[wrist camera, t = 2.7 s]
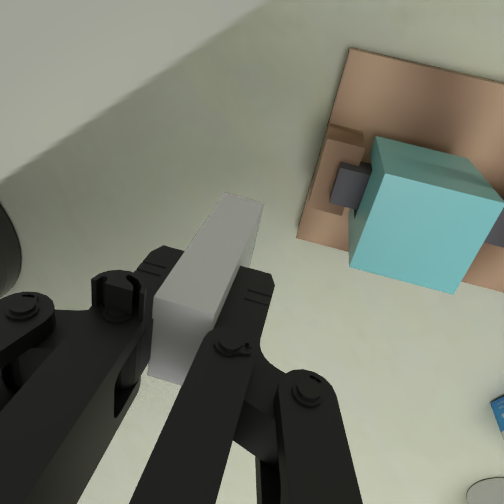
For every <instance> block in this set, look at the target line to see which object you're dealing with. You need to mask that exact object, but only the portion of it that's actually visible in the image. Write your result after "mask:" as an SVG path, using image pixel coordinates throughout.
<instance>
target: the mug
mask: <svg viewBox="0 0 504 504" xmlns="http://www.w3.org/2000/svg"><path fill="white" fill-rule="evenodd" d="M467 502H468V504H504V478H492V479H487V480H483V481H480V482H478V483H476V484H474V485H473V486H472V487H471V488H470V489H469V491H468V493H467Z"/></svg>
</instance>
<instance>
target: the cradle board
mask: <svg viewBox="0 0 504 504" xmlns="http://www.w3.org/2000/svg"><path fill="white" fill-rule="evenodd" d="M375 136H378V137H382V138H387V139H391V140H395V141H399V142H403V143H407V144H411V145H415V146H419V147H423V148H427V149H431V150H436V151H440V152H444V153H448V154H452V155H456V156H460V157H464V158H468V159H469V160H470V161H471V162H472V164H473V165H474V166H475V167H476V168H477V170H478V171H479V172H480V173H481V174H482V176H483V177H484V178H485V179H486V180H487V182H488V183H489V184H490V185H491V186H492V188H493V189H494V190H495V191H496V192H497V193H498V195H499V196H500V197H501V198H502V199H503V201H504V83H502V82H498V81H494V80H489V79H485V78H481V77H477V76H472V75H468V74H464V73H459V72H455V71H451V70H446V69H442V68H438V67H434V66H429V65H425V64H421V63H416V62H412V61H408V60H403V59H399V58H395V57H390V56H386V55H382V54H378V53H373V52H369V51H365V50H360V49H356V48H352V47H350V49H349V53H348V56H347V60H346V63H345V67H344V70H343V74H342V77H341V81H340V84H339V88H338V91H337V95H336V98H335V101H334V105H333V108H332V112H331V115H330V119H329V122H328V126H327V129H326V133H325V136H324V140H323V143H322V147H321V150H320V154H319V157H318V161H317V164H316V168H315V171H314V175H313V178H312V182H311V185H310V189H309V192H308V196H307V199H306V203H305V206H304V210H303V213H302V216H301V220H300V223H299V227H298V231H297V236H296V238H298V239H302V240H306V241H310V242H314V243H317V244H321V245H325V246H329V247H333V248H336V249H340V250H344V251H348V252H349V237H348V213H349V210H350V208H351V209H355V210H358V208H359V206H360V203H361V200H362V197H363V195H364V192H365V189H366V187H367V184H368V181H369V178H370V176H371V173H372V165H371V160H370V154H369V153H370V150H371V148H372V145H373V142H374V139H375ZM462 282H466V283H469V284H473V285H477V286H481V287H485V288H488V289H492V290H496V291H500V292H504V208H503V209H502V211H501V213H500V215H499V216H498V218H497V220H496V222H495V223H494V225H493V227H492V229H491V230H490V232H489V234H488V236H487V237H486V239H485V241H484V242H483V244H482V246H481V248H480V249H479V251H478V253H477V255H476V256H475V258H474V260H473V262H472V263H471V265H470V267H469V269H468V270H467V272H466V274H465V276H464V277H463V279H462Z"/></svg>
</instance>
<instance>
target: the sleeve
mask: <svg viewBox="0 0 504 504" xmlns="http://www.w3.org/2000/svg"><path fill="white" fill-rule="evenodd" d="M369 154H370V160H371V165H372V173H371V176H370V178H369V181H368V184H367V187H366V189H365V192H364V195H363V197H362V200H361V203H360V206H359V208H358V210H355V209H351V208H350V210H349V213H348V237H349V267H351V268H355V269H359V270H363V271H366V272H370V273H374V274H378V275H381V276H385V277H389V278H393V279H396V280H400V281H404V282H408V283H412V284H415V285H419V286H423V287H427V288H430V289H434V290H438V291H442V292H445V293H449V294H453V295H454V293H455V291H456V290H457V288H458V286H459V284H460V283H461V281H462V279H463V277H464V276H465V274H466V272H467V270H468V269H469V267H470V265H471V263H472V262H473V260H474V258H475V256H476V255H477V253H478V251H479V249H480V248H481V246H482V244H483V242H484V241H485V239H486V237H487V236H488V234H489V232H490V230H491V229H492V227H493V225H494V223H495V222H496V220H497V218H498V216H499V215H500V213H501V211H502V209H503V208H504V201H503V199H502V198H501V197H500V196H499V195H498V193H497V192H496V191H495V190H494V189H493V188H492V186H491V185H490V184H489V183H488V182H487V180H486V179H485V178H484V177H483V176H482V174H481V173H480V172H479V171H478V170H477V168H476V167H475V166H474V165H473V164H472V162H471V161H470V160H469V159H468V158H464V157H460V156H456V155H452V154H448V153H444V152H440V151H436V150H431V149H427V148H423V147H419V146H415V145H411V144H407V143H403V142H399V141H395V140H391V139H387V138H382V137H378V136H375V139H374V142H373V145H372V148H371V150H370V153H369Z"/></svg>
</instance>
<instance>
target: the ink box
mask: <svg viewBox="0 0 504 504" xmlns="http://www.w3.org/2000/svg"><path fill="white" fill-rule="evenodd" d="M491 406H492V409H493V412H494V415H495V418H496V420H497V423H498V426H499V428H500V431H501V434H502V436H503V439H504V396H503V397H501V398H499V399H497V400H495V401H493V402H491Z"/></svg>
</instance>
